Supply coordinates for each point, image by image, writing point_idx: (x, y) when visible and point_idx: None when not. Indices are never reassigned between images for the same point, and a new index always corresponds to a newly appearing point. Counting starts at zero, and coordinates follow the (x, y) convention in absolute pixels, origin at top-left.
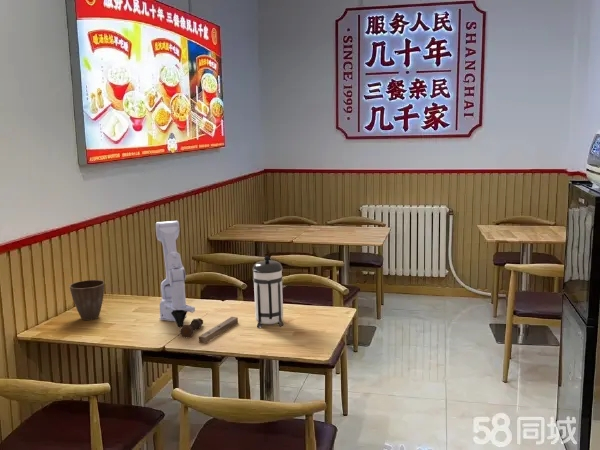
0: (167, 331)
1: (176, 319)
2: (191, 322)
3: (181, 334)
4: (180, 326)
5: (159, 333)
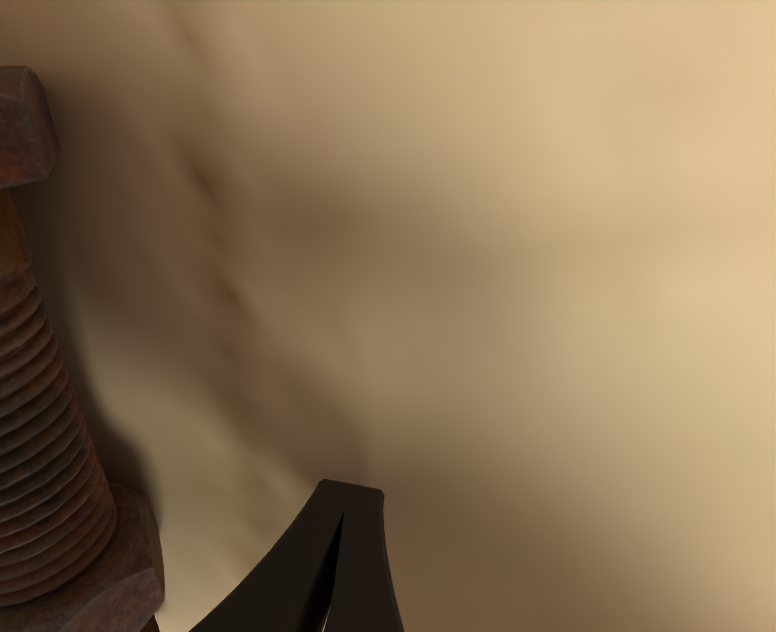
0: (558, 351)
1: (349, 627)
2: (83, 594)
3: (11, 68)
4: (312, 496)
5: (708, 210)
